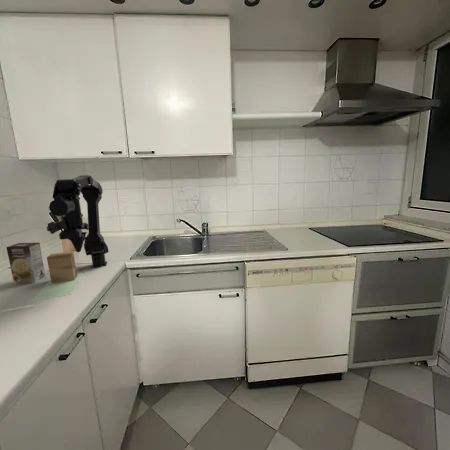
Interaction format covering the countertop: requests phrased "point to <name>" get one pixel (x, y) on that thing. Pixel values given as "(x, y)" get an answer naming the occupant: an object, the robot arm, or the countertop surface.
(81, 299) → the countertop surface
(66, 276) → the walnut block
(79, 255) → the countertop surface
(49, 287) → the mat
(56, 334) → the countertop surface
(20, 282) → the coffee box
